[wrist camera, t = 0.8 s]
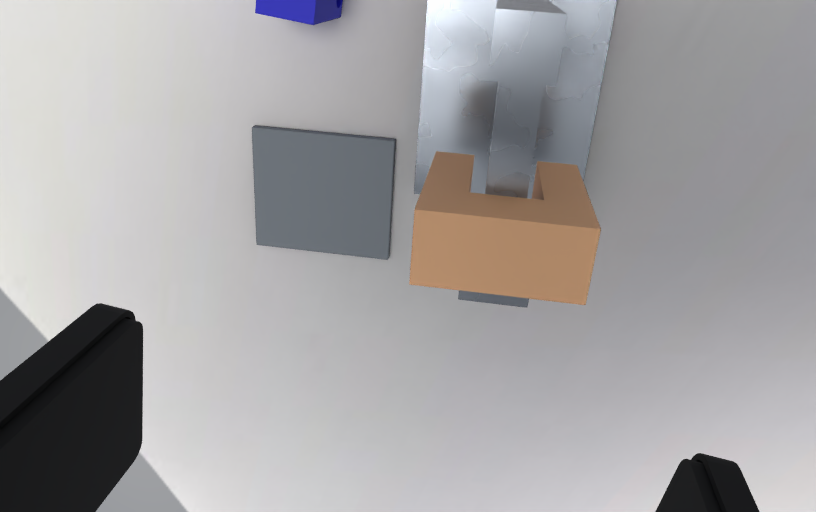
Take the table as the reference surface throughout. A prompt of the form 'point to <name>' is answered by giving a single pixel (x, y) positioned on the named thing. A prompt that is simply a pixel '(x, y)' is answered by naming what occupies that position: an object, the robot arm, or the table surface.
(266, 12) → the blue toy block
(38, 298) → the table surface
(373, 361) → the table surface
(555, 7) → the stand
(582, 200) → the c link
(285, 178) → the mat
